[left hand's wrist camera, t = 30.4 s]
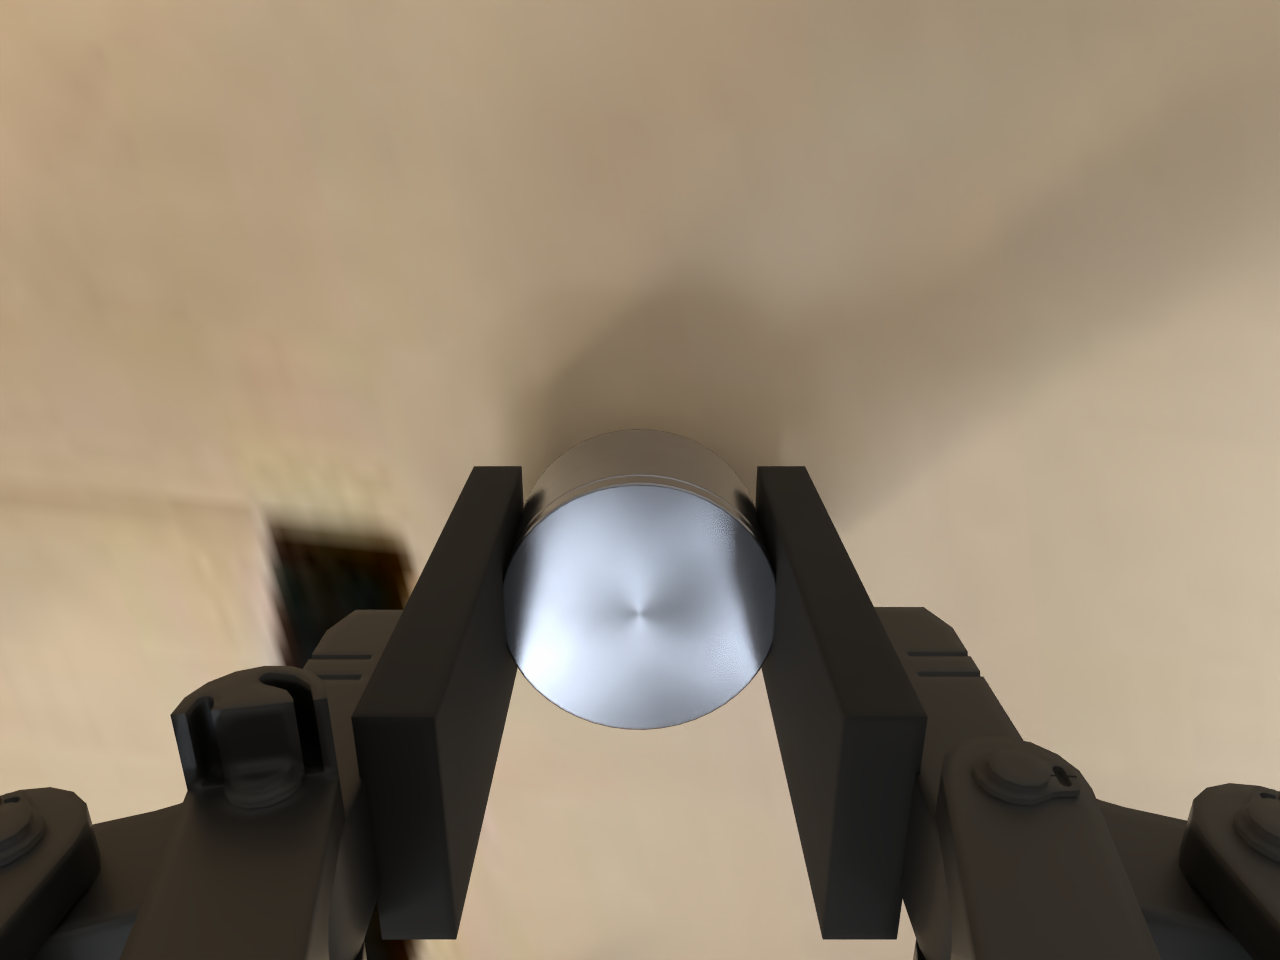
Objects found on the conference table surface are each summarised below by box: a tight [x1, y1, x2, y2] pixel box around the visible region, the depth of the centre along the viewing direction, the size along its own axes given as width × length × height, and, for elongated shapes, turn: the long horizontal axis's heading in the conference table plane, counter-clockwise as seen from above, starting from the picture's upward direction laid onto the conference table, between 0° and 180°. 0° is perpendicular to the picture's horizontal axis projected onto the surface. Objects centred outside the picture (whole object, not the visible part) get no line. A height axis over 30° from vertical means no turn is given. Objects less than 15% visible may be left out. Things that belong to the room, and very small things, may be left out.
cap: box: [503, 429, 776, 730], centre depth 13 cm, size 4×4×2 cm
